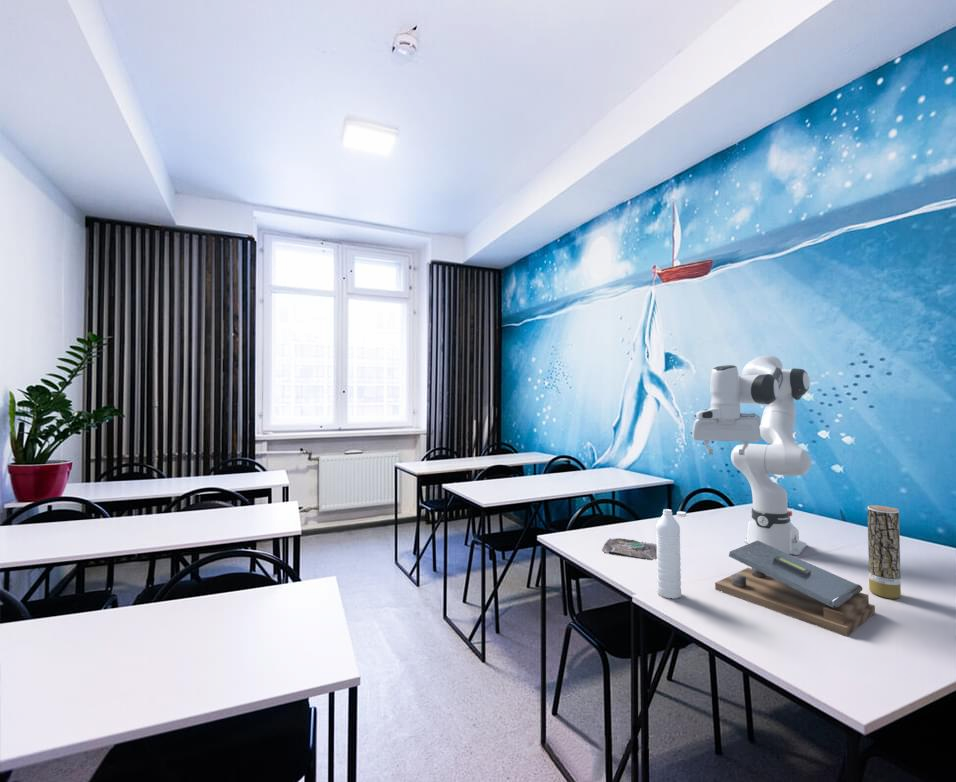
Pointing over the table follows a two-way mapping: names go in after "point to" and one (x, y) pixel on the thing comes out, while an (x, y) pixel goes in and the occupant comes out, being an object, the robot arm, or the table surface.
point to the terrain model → (631, 548)
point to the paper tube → (884, 551)
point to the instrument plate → (797, 573)
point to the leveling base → (796, 601)
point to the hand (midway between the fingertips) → (725, 454)
